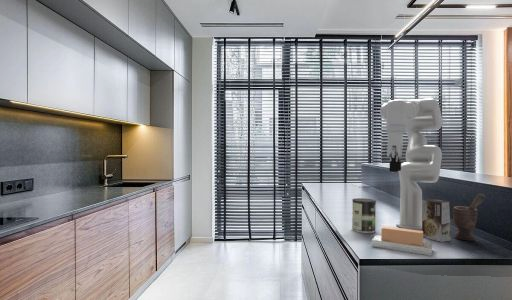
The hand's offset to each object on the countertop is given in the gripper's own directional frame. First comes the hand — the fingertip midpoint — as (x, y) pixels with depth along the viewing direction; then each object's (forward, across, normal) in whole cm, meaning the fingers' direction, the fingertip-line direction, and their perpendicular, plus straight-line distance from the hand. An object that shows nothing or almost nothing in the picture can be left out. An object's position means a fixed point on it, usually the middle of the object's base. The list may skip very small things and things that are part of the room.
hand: (395, 171), depth 133 cm
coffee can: (+28, -8, -14) cm, 33 cm away
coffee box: (+28, -11, +15) cm, 34 cm away
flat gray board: (+28, +12, +4) cm, 31 cm away
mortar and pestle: (+28, -17, +27) cm, 43 cm away
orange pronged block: (+28, +12, +4) cm, 31 cm away
